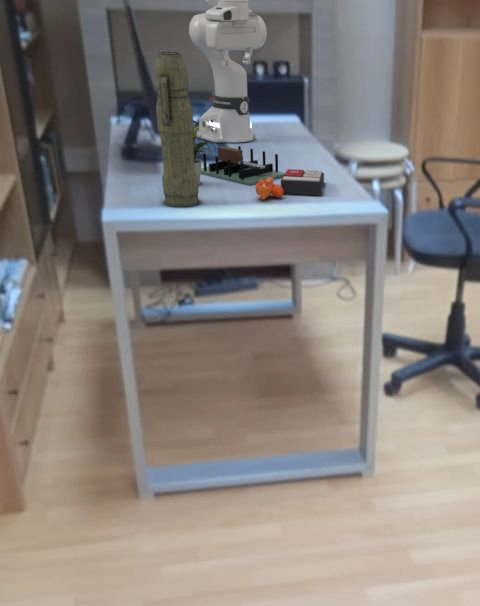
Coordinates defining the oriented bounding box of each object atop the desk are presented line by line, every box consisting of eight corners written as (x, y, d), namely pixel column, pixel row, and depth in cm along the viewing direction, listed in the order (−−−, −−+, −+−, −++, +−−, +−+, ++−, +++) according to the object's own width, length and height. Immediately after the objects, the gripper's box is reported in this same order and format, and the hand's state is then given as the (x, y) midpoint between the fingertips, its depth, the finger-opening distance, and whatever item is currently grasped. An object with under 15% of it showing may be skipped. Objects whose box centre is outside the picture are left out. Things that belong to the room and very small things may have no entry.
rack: (195, 172, 232) (194, 151, 229) (233, 163, 243) (232, 144, 240) (250, 185, 222) (249, 164, 219) (286, 175, 233) (286, 155, 230)
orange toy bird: (264, 169, 213) (255, 180, 203) (289, 180, 214) (282, 191, 204) (258, 187, 216) (249, 198, 206) (284, 197, 217) (276, 209, 207)
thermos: (204, 197, 208) (194, 51, 190) (192, 209, 198) (181, 56, 180) (171, 195, 209) (158, 49, 190) (158, 207, 199) (143, 54, 180)
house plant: (171, 192, 211) (165, 128, 203) (154, 181, 221) (147, 119, 212) (220, 187, 218) (216, 125, 209) (201, 176, 228) (197, 116, 219)
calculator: (324, 169, 225) (320, 179, 212) (323, 185, 228) (320, 195, 214) (286, 167, 225) (280, 177, 212) (286, 183, 228) (280, 193, 214)
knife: (218, 159, 234) (217, 147, 232) (223, 158, 236) (223, 145, 234) (260, 169, 226) (259, 156, 224) (265, 167, 228) (265, 154, 226)
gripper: (250, 11, 236) (251, 62, 243) (200, 12, 221) (204, 66, 229) (265, 12, 233) (266, 64, 240) (216, 14, 218) (219, 68, 226)
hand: (235, 65), depth 234 cm, fingers open, 8 cm apart
